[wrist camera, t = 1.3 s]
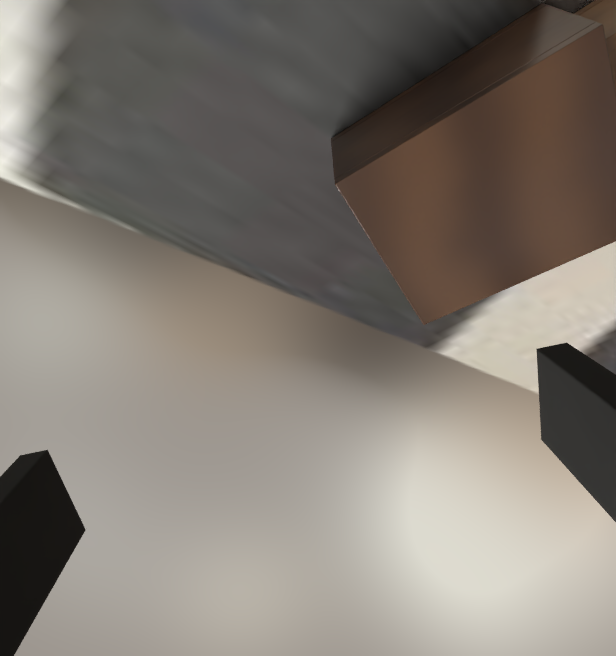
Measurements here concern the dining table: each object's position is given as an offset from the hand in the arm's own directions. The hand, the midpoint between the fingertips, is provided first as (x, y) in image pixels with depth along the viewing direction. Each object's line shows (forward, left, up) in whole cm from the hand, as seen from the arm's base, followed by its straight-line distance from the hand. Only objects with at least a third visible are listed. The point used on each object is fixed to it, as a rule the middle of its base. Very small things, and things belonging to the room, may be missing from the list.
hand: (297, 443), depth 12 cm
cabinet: (+10, +9, -31) cm, 34 cm away
